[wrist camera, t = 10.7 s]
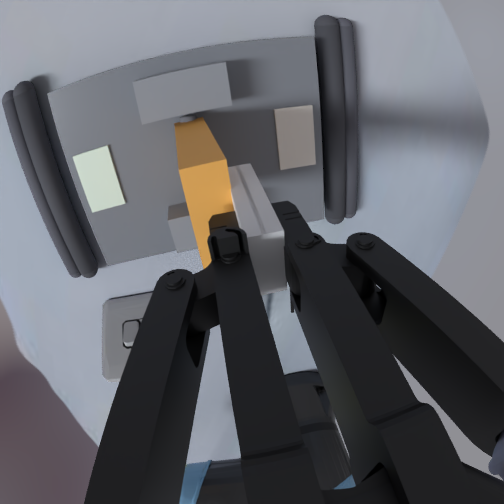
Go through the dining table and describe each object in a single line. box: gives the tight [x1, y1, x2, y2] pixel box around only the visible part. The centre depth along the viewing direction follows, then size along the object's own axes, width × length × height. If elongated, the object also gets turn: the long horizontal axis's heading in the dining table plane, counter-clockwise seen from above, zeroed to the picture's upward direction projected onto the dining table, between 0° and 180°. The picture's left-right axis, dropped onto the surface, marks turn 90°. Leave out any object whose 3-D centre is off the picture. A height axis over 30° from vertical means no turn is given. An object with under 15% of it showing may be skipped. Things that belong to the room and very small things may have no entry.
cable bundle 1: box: [2, 81, 98, 278], centre depth 24 cm, size 20×3×2 cm, turn 7°
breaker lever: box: [174, 114, 234, 269], centre depth 19 cm, size 7×2×11 cm, turn 7°
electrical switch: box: [102, 292, 153, 382], centre depth 32 cm, size 9×5×9 cm, turn 95°
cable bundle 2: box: [314, 15, 358, 224], centre depth 26 cm, size 20×3×2 cm, turn 7°
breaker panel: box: [47, 37, 324, 266], centre depth 24 cm, size 16×20×5 cm
